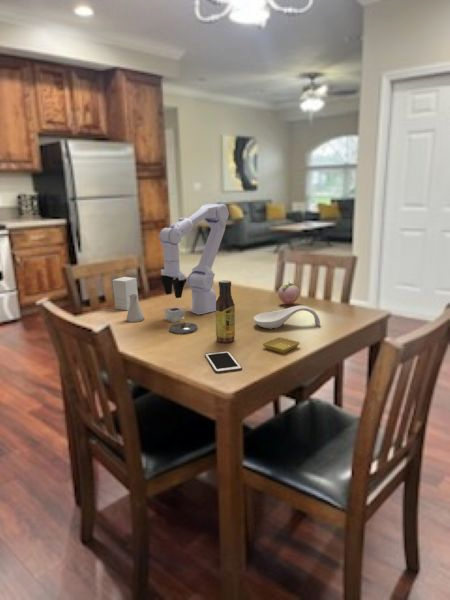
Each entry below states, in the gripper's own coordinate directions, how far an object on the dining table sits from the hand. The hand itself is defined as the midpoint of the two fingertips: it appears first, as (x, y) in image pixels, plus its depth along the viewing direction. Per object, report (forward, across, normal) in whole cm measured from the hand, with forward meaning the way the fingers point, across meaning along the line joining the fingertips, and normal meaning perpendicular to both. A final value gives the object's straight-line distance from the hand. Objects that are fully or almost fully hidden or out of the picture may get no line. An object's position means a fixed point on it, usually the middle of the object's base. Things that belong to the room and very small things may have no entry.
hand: (173, 295), depth 173 cm
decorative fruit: (+10, +13, +47) cm, 50 cm away
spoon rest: (+10, +33, +27) cm, 44 cm away
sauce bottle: (+10, +32, +1) cm, 34 cm away
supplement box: (+10, -29, -7) cm, 31 cm away
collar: (+9, 0, 0) cm, 9 cm away
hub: (+9, +13, -4) cm, 17 cm away
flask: (+10, -10, -12) cm, 18 cm away
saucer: (+10, +49, +10) cm, 51 cm away
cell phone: (+10, +47, -11) cm, 49 cm away
